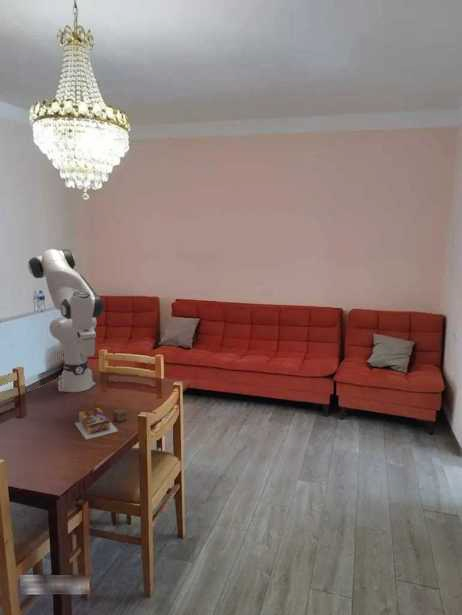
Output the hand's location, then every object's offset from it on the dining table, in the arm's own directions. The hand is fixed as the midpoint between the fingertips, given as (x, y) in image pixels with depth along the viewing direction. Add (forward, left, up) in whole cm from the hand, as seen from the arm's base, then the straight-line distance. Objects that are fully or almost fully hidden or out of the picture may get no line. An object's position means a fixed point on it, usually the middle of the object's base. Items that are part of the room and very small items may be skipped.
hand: (83, 361), depth 186 cm
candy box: (+4, 0, -23) cm, 23 cm away
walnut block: (+12, +11, -25) cm, 30 cm away
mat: (+14, 0, -25) cm, 29 cm away
